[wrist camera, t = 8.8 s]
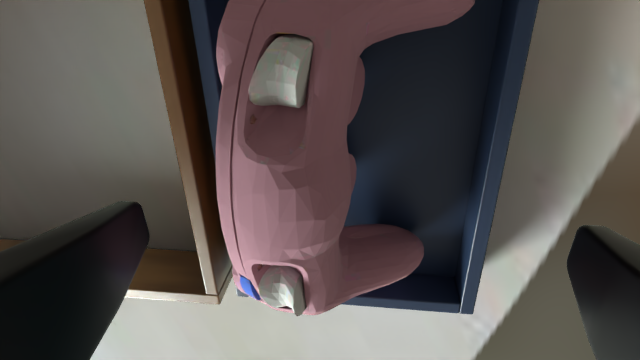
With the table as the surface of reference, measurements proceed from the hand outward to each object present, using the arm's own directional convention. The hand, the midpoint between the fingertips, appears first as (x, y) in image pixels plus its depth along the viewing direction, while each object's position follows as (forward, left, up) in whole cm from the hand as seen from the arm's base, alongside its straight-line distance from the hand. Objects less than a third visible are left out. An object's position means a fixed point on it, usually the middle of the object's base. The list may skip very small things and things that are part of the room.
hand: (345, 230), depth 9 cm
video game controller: (0, 0, -6) cm, 6 cm away
